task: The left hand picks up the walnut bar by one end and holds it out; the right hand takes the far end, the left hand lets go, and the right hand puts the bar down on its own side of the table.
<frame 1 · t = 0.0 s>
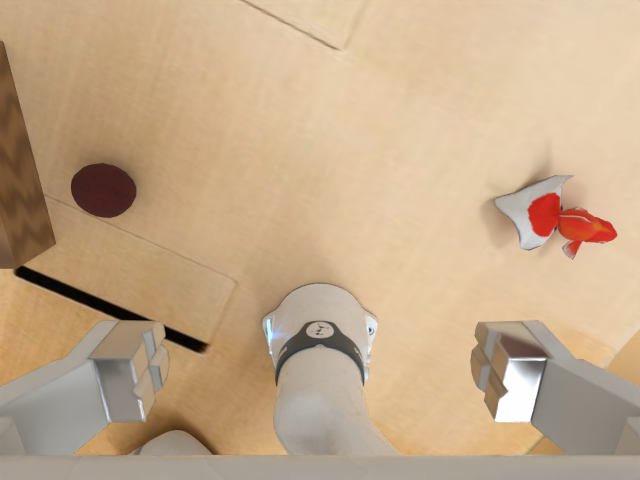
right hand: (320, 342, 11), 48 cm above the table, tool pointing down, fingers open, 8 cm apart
bar: (11, 151, 56), on the table
plum: (117, 184, 58), on the table
white rounded shell: (191, 465, 79), on the table
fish: (537, 210, 59), on the table
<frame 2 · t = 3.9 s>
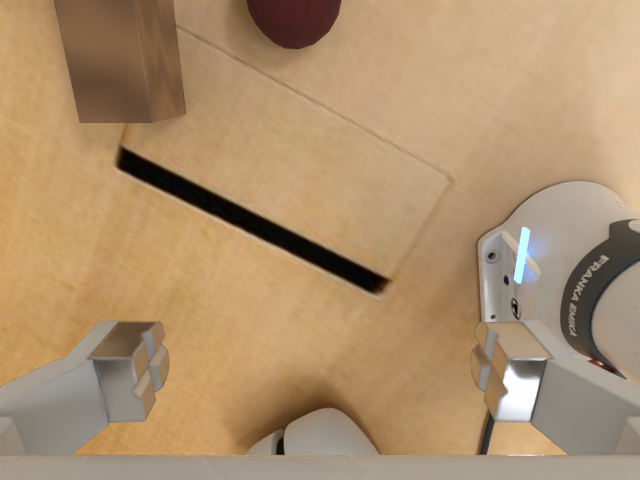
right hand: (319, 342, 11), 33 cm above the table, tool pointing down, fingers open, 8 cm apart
plum: (296, 6, 36), on the table
white rounded shell: (333, 459, 57), on the table
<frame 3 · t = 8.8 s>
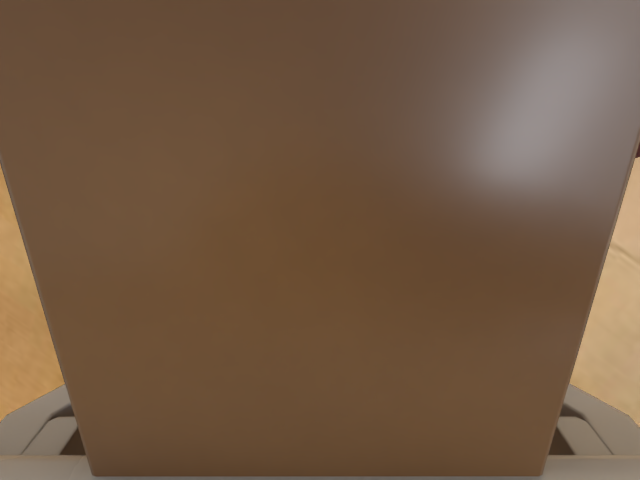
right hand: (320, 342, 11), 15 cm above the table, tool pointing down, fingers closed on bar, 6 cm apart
when the left hand's fingers open (15 cm above the table, at t = 9.9 s): bar moves 2 cm, held by the right hand.
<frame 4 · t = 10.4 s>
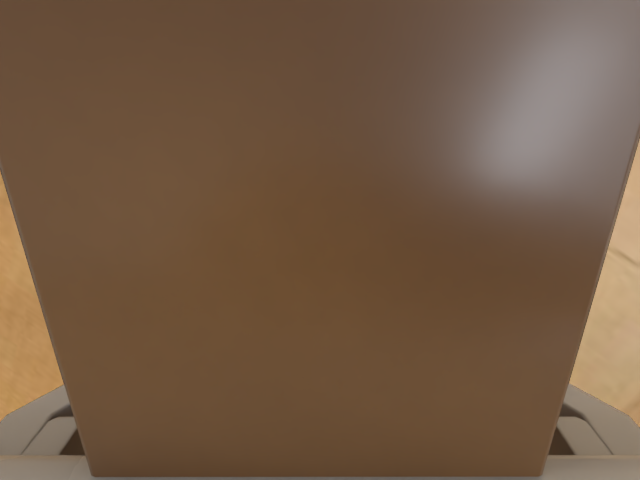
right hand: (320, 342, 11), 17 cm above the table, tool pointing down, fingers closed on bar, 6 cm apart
when the right hand's fingers open (5 cm above the table, at t = 14.3 s): bar stays where it is, on the table.
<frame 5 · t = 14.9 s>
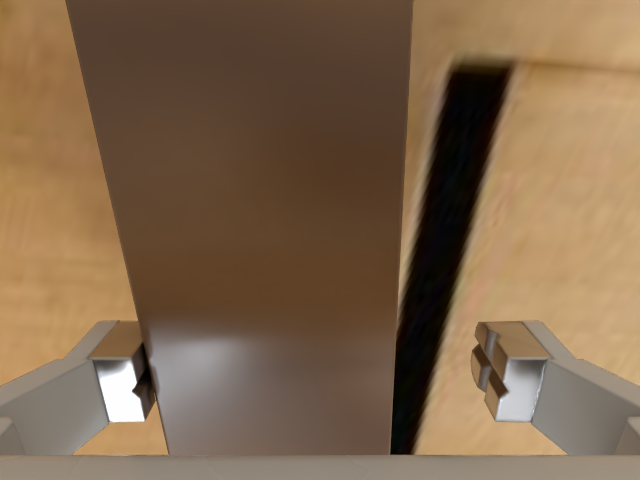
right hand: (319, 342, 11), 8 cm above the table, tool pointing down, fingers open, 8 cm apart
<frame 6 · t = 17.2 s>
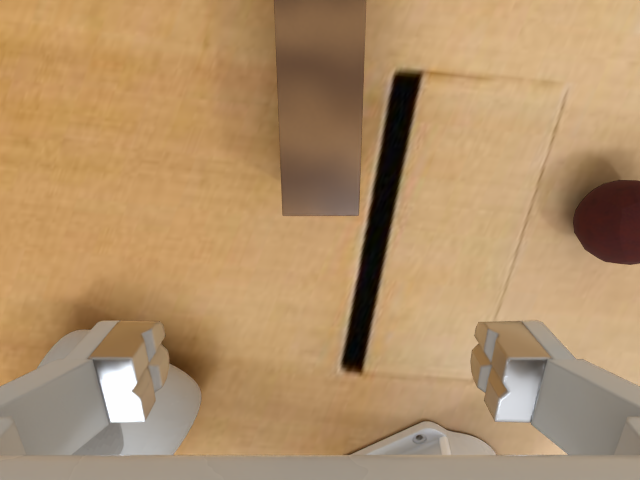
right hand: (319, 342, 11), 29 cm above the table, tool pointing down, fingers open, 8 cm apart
bar: (320, 22, 33), on the table
plum: (597, 211, 39), on the table
white rounded shell: (118, 403, 48), on the table
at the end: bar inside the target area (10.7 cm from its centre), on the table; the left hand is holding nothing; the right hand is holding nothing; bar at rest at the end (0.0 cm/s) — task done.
